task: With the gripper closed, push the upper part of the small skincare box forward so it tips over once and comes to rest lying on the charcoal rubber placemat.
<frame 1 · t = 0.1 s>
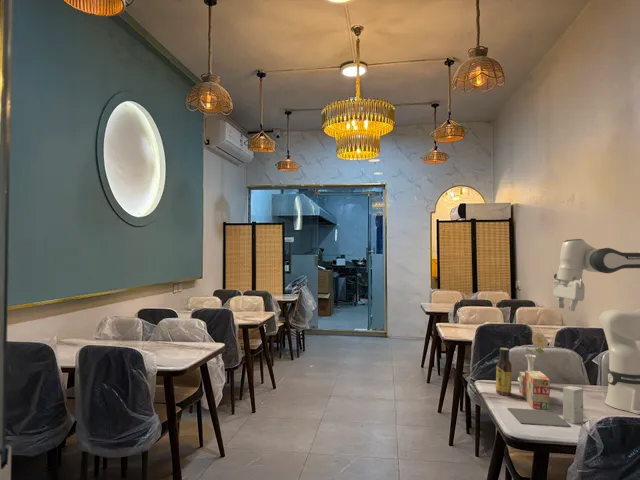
hand: (566, 309, 177), 39 cm above the table, tool pointing down, fingers open, 8 cm apart
sauce bottle: (503, 394, 186), on the table
stack of blocks: (533, 401, 178), on the table
skincare box: (573, 421, 156), on the table
flower in vase: (532, 385, 200), on the table
placemat: (537, 417, 158), on the table
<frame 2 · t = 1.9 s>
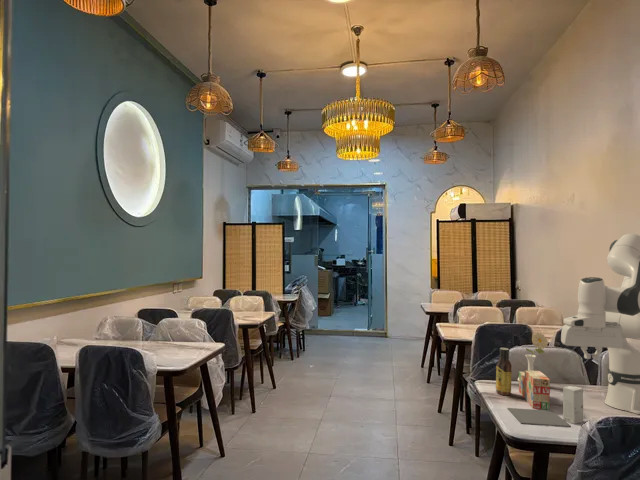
hand: (591, 358, 156), 23 cm above the table, tool pointing down, fingers closed
nothing on the table moved.
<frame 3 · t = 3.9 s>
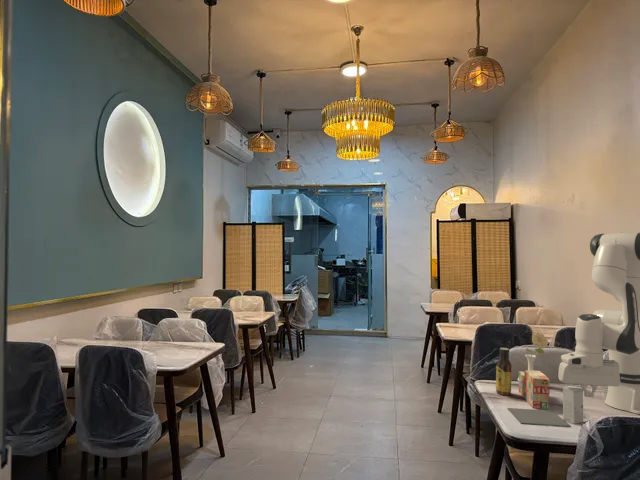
hand: (588, 396, 156), 9 cm above the table, tool pointing down, fingers closed
skincare box: (573, 421, 156), on the table, touching gripper
everything else where it was.
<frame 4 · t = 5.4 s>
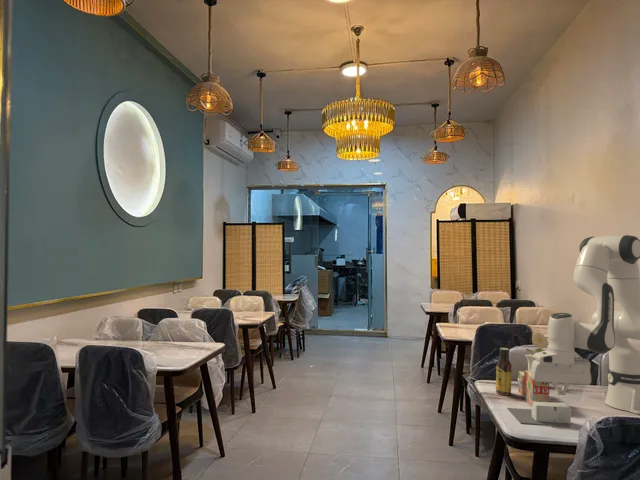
hand: (560, 394, 157), 9 cm above the table, tool pointing down, fingers closed
skincare box: (568, 412, 154), point 4 cm above the table, touching placemat
everything else where it was.
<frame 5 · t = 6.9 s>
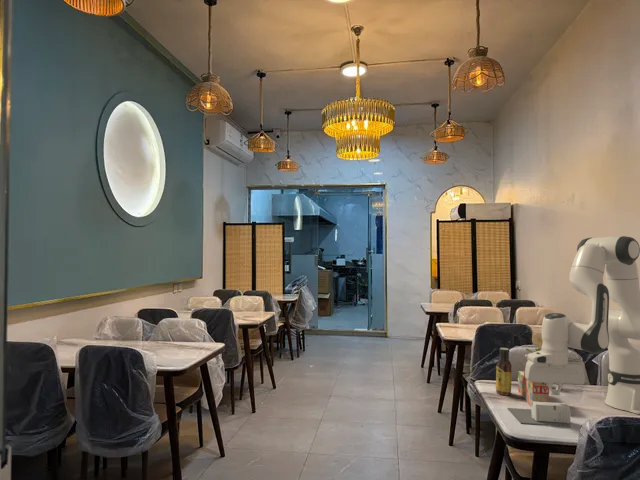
hand: (554, 394, 157), 9 cm above the table, tool pointing down, fingers closed
nothing on the table moved.
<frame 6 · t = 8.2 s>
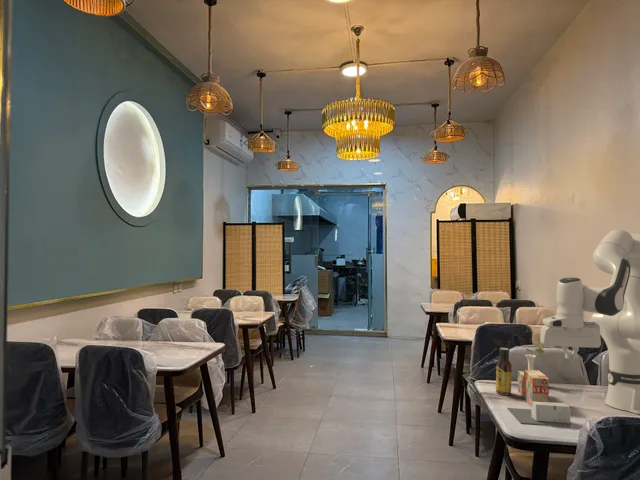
hand: (570, 358, 157), 23 cm above the table, tool pointing down, fingers closed
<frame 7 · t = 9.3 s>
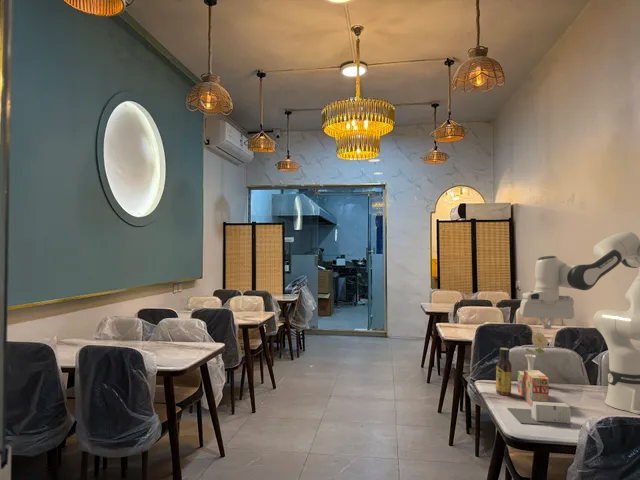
hand: (546, 329, 173), 31 cm above the table, tool pointing down, fingers closed
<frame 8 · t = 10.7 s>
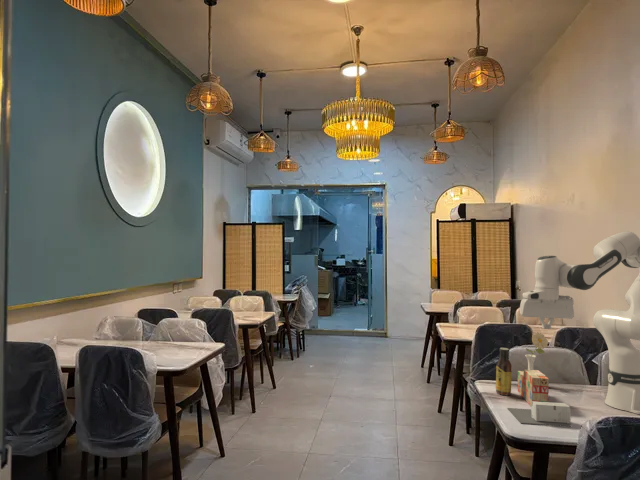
hand: (546, 328, 173), 31 cm above the table, tool pointing down, fingers closed
at the end: skincare box tilted 91°; skincare box touching placemat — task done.
